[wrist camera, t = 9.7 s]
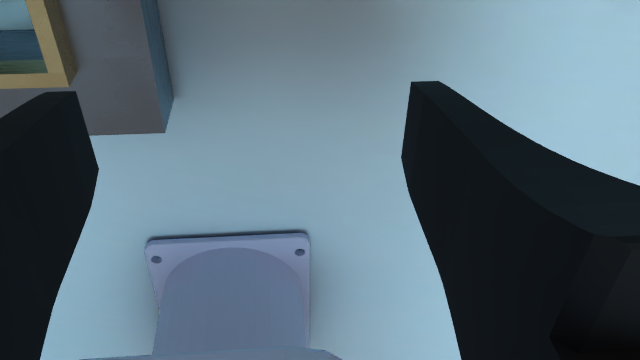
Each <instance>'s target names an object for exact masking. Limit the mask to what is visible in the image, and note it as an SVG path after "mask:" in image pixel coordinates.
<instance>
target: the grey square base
mask: <svg viewBox="0 0 640 360" xmlns="http://www.w3.org/2000/svg"><path fill="white" fill-rule="evenodd" d="M25 1H26V5H27V8H28V11H29V14H30V17H31V20H32V23H33V26H34V30H15V31H0V118H1V117H3V116H4V115H6V114H8V113H9V112H11V111H12V110H14V109H16V108H17V107H19V106H20V105H22V104H24V103H26V102H27V101H29V100H31V99H32V98H34V97H36V96H38V95H40V94H42V93H45V92H58V91H76V93H77V96H78V100H79V103H80V107H81V110H82V114H83V117H84V120H85V124H86V127H87V131H88V134H89V136H90V135H119V134H149V133H165V131H166V128H167V124H168V120H169V116H170V112H171V108H172V104H173V100H174V98H173V93H172V87H171V81H170V75H169V69H168V63H167V57H166V51H165V46H164V40H163V34H162V28H161V22H160V16H159V10H158V5H157V0H25Z"/></svg>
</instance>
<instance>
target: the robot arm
mask: <svg viewBox="0 0 640 360" xmlns="http://www.w3.org/2000/svg"><path fill="white" fill-rule="evenodd" d="M401 159H402V164H403V169H404V173H405V178H406V182H407V187H408V191H409V194H410V197H411V200H412V203H413V205H414V208H415V211H416V213H417V216H418V219H419V221H420V224H421V226H422V229H423V232H424V234H425V237H426V239H427V242H428V244H429V247H430V250H431V252H432V255H433V257H434V260H435V263H436V265H437V268H438V271H439V274H440V277H441V280H442V283H443V286H444V290H445V294H446V298H447V302H448V305H449V309H450V313H451V317H452V321H453V325H454V330H455V334H456V338H457V342H458V347H459V351H460V355H461V360H640V186H639V185H636V184H633V183H630V182H627V181H624V180H621V179H618V178H615V177H613V176H610V175H607V174H605V173H602V172H599V171H597V170H594V169H591V168H589V167H587V166H584V165H582V164H579V163H577V162H575V161H573V160H571V159H568V158H566V157H564V156H562V155H560V154H558V153H556V152H554V151H551V150H549V149H547V148H545V147H543V146H542V145H540V144H538V143H536V142H534V141H532V140H531V139H529V138H527V137H525V136H524V135H522V134H520V133H518V132H517V131H515V130H513V129H512V128H510V127H508V126H507V125H505V124H504V123H502V122H500V121H499V120H497V119H496V118H494V117H493V116H491V115H490V114H488V113H487V112H485V111H484V110H482V109H481V108H479V107H478V106H476V105H475V104H473V103H472V102H470V101H469V100H467V99H466V98H465V97H463V96H462V95H460V94H459V93H457V92H456V91H454V90H453V89H451V88H450V87H448V86H446V85H445V84H443V83H441V82H439V81H421V82H411V87H410V94H409V102H408V110H407V117H406V125H405V132H404V140H403V148H402V155H401ZM98 170H99V168H98V165H97V161H96V158H95V155H94V151H93V148H92V144H91V141H90V137H89V134H88V131H87V127H86V124H85V120H84V117H83V114H82V110H81V107H80V103H79V100H78V96H77V93H76V91H58V92H45V93H42V94H40V95H38V96H36V97H34V98H32V99H31V100H29V101H27V102H26V103H24V104H22V105H20V106H19V107H17V108H16V109H14V110H12V111H11V112H9V113H8V114H6V115H4V116H3V117H1V118H0V360H40V357H41V352H42V348H43V344H44V340H45V336H46V332H47V328H48V324H49V321H50V317H51V313H52V309H53V306H54V303H55V300H56V297H57V294H58V291H59V288H60V285H61V283H62V280H63V278H64V275H65V273H66V270H67V268H68V265H69V263H70V260H71V257H72V255H73V252H74V250H75V247H76V245H77V242H78V240H79V237H80V235H81V232H82V229H83V227H84V224H85V221H86V219H87V216H88V213H89V211H90V208H91V204H92V200H93V195H94V191H95V186H96V181H97V176H98ZM297 249H303V250H300V251H299V250H297ZM144 253H145V257H146V261H147V264H148V268H149V272H150V276H151V280H152V284H153V288H154V292H155V295H156V299H157V303H158V307H159V311H160V313H159V318H158V324H157V329H156V335H155V340H154V346H153V352H152V355H143V356H127V357H112V358H96V359H81V360H342V359H340V358H338V357H337V356H335V355H333V354H331V353H329V352H327V351H325V350H317V349H309V310H310V241H309V237H308V236H307V235H306V234H304V233H289V234H268V235H248V236H227V237H207V238H186V239H166V240H152V241H149V242H147V244H146V245H145V249H144ZM154 256H159V257H160V258H156V257H154Z"/></svg>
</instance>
